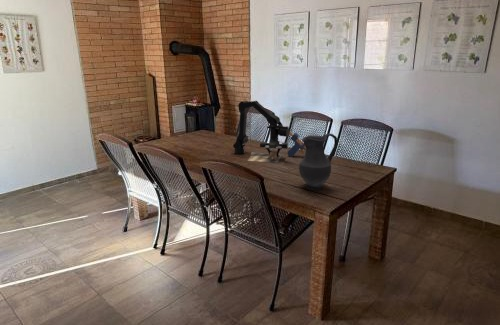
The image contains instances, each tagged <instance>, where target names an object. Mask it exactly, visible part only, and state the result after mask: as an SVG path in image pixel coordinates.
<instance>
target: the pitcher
mask: <svg viewBox="0 0 500 325" xmlns="http://www.w3.org/2000/svg"><path fill="white" fill-rule="evenodd" d="M328 137H331V138H333V140H334V141H333V142H334V144H333V147H332V149H331V151H330V153H329V155H328V157H326V154H325V151H324V150H325V149H324V147H325V142H326V141H327V139H328ZM301 141H302V142H303V143H304V144H305V146H306V151H305V153H304V156H303V158H302V160H301V161H299V165H298V171H299V175H300V177H301V179H303V181H304V182H305V183H306V184H305V185H304V187H305V188H306V189H307V190H311V191H321V190H322V189H323V187H324V186H323V185H324V184H325V183H326V182H328V180H329V179H330V176H331V172H332V160H333V157H334V155H335V152H336V151H337V148H338V146H339V145H338V143H339V142H338V141H339V140H338V138H337V136H336V135H334V134H333V133H330V132H329V133H326V134H323V135H317V134H316V135H315V134H312V135H311V134H310V135H309V134H308V135H306V136H304V137H302V138H301Z"/></svg>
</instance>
